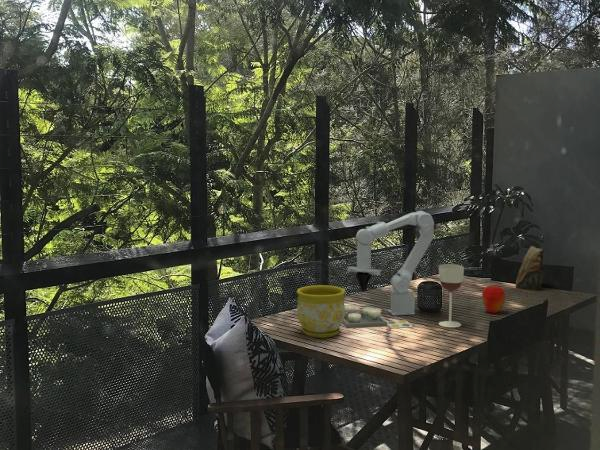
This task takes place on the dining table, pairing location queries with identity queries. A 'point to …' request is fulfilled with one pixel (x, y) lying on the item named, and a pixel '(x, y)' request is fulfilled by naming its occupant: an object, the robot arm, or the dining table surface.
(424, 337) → the dining table surface
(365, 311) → the button
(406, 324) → the card
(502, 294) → the apple
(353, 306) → the button
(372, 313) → the button
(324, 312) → the flowerpot
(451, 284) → the wineglass
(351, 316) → the button
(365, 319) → the button board
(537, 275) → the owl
